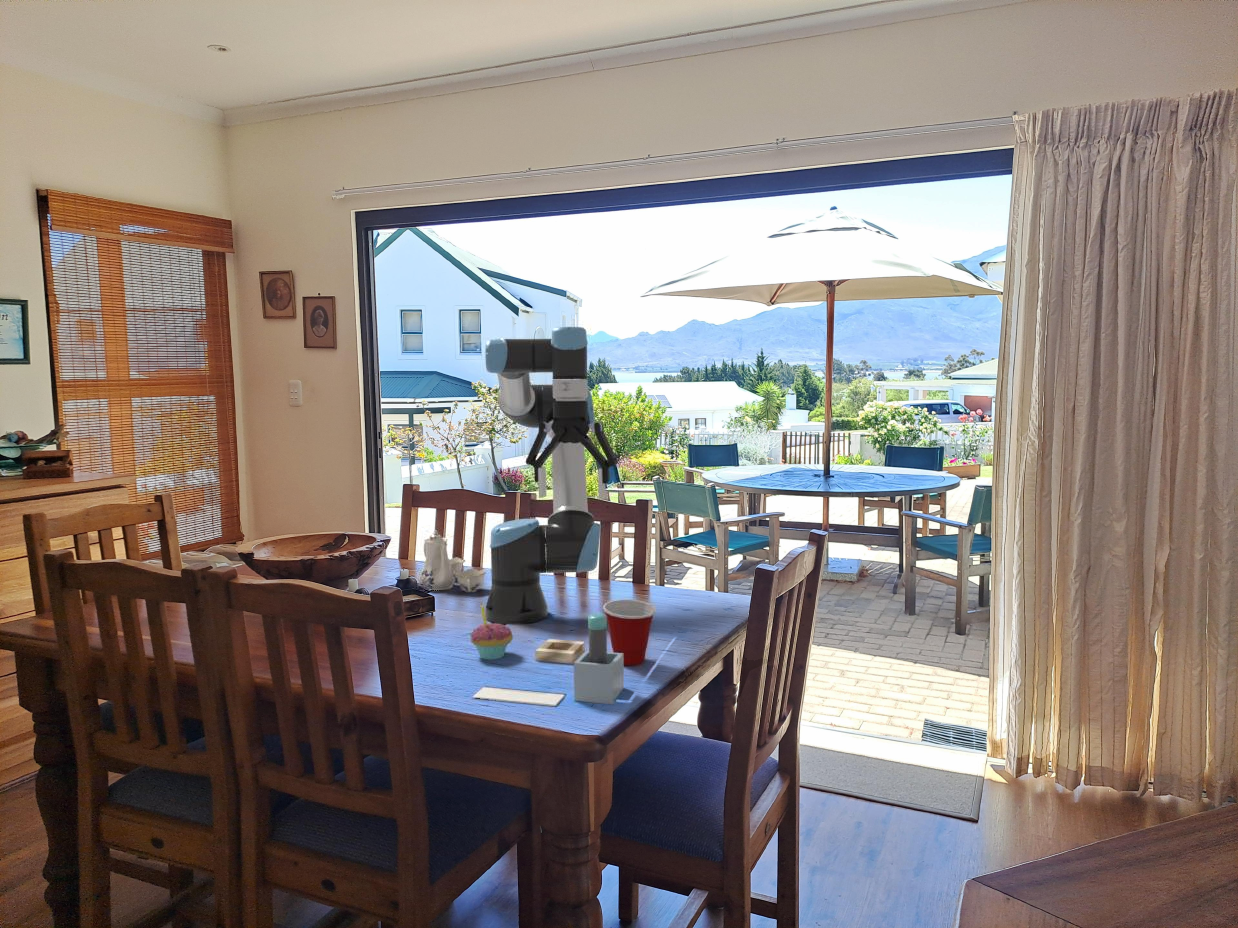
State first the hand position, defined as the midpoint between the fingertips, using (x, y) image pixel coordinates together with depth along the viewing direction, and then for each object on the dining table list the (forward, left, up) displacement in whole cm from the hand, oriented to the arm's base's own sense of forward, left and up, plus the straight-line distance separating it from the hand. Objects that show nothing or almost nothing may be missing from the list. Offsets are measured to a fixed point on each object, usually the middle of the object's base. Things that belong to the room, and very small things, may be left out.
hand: (572, 498), depth 186 cm
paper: (+1, -30, -32) cm, 44 cm away
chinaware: (-51, +39, -32) cm, 71 cm away
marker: (+15, -30, -31) cm, 46 cm away
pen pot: (+15, -30, -32) cm, 46 cm away
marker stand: (+1, -12, -32) cm, 34 cm away
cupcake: (-13, -15, -32) cm, 38 cm away
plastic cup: (+16, -12, -32) cm, 38 cm away
